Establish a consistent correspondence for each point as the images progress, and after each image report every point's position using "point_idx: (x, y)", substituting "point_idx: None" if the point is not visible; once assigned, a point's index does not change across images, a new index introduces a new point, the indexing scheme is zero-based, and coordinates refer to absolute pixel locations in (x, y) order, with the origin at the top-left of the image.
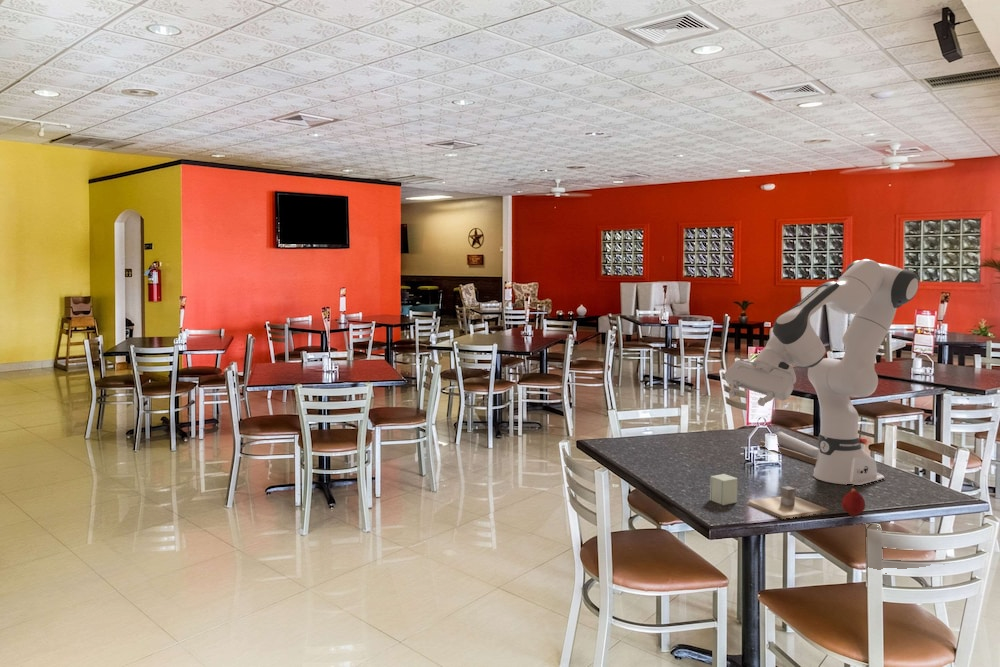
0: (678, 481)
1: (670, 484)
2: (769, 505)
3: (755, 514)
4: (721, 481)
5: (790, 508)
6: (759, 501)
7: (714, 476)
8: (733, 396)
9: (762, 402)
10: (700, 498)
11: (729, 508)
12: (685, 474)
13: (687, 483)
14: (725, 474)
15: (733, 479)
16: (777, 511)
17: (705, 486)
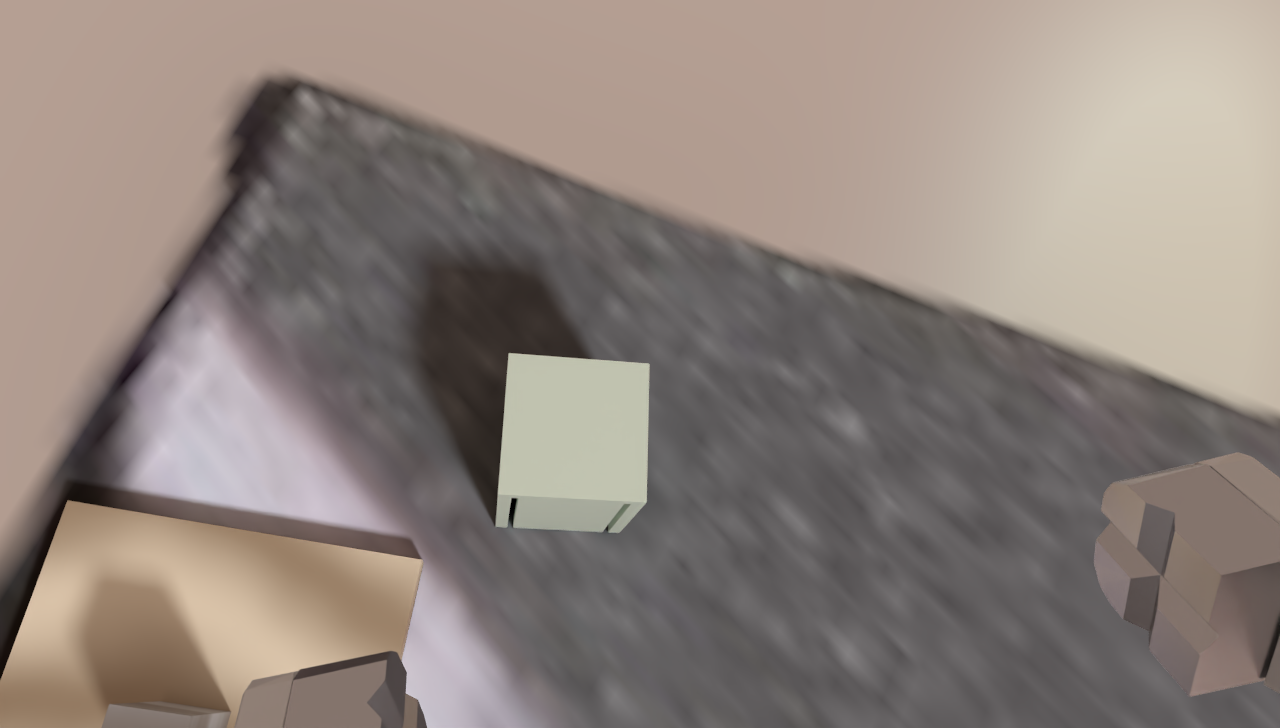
0: (1016, 541)
1: (980, 446)
2: (267, 610)
3: (262, 437)
4: (534, 359)
5: (122, 692)
6: (367, 619)
7: (628, 382)
8: (1109, 550)
9: (248, 697)
10: (675, 391)
11: (439, 391)
12: (1140, 716)
13: (958, 561)
14: (627, 499)
15: (501, 451)
16: (149, 548)
17: (857, 619)
